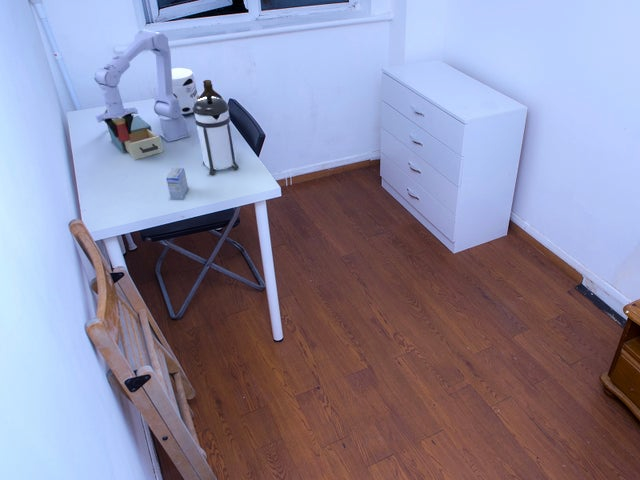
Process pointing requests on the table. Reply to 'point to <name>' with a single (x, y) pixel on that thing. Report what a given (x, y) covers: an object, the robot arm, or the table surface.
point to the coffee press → (215, 133)
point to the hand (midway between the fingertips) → (122, 134)
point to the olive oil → (209, 90)
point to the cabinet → (136, 126)
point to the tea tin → (121, 129)
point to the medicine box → (177, 183)
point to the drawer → (143, 144)
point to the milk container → (184, 89)
